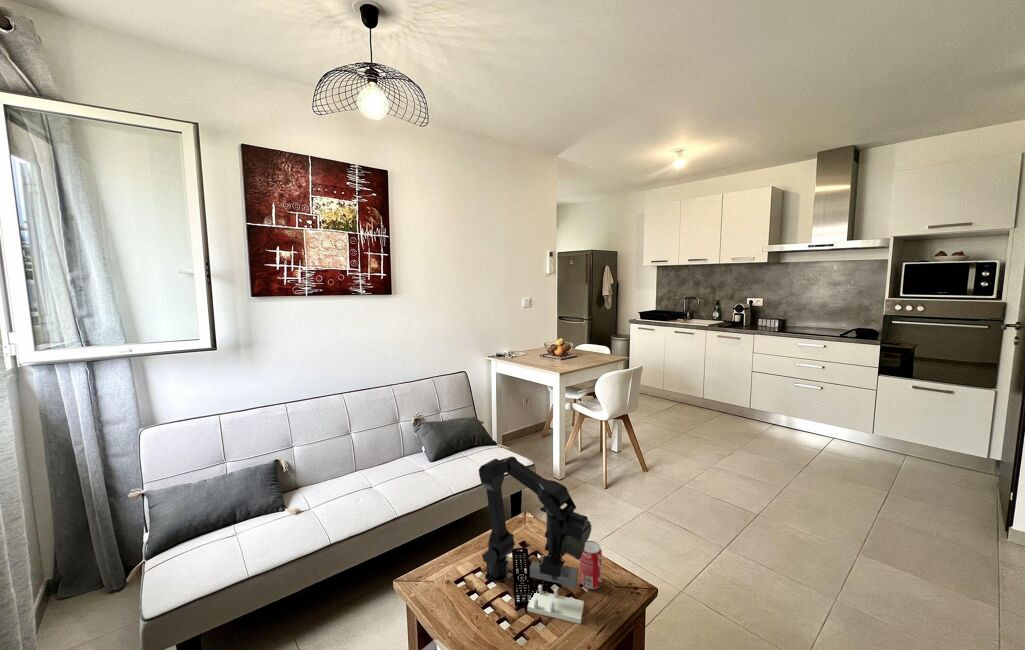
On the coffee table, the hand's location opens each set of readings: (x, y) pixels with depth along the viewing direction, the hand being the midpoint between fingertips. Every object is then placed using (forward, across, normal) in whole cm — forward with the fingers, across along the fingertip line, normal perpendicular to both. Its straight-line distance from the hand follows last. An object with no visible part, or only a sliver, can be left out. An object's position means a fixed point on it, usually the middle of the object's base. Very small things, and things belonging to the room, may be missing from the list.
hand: (555, 576), depth 124 cm
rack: (+11, 0, 0) cm, 11 cm away
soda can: (+11, +13, -9) cm, 19 cm away
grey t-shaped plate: (+1, 0, 0) cm, 1 cm away
